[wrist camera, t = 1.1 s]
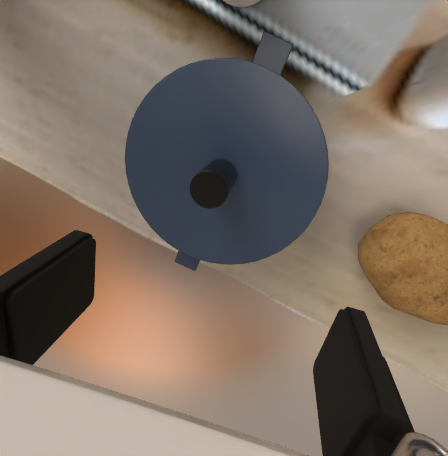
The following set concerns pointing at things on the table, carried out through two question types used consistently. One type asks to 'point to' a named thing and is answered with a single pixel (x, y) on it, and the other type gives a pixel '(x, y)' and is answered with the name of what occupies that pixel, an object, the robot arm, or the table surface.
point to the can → (241, 2)
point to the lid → (226, 161)
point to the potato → (409, 264)
